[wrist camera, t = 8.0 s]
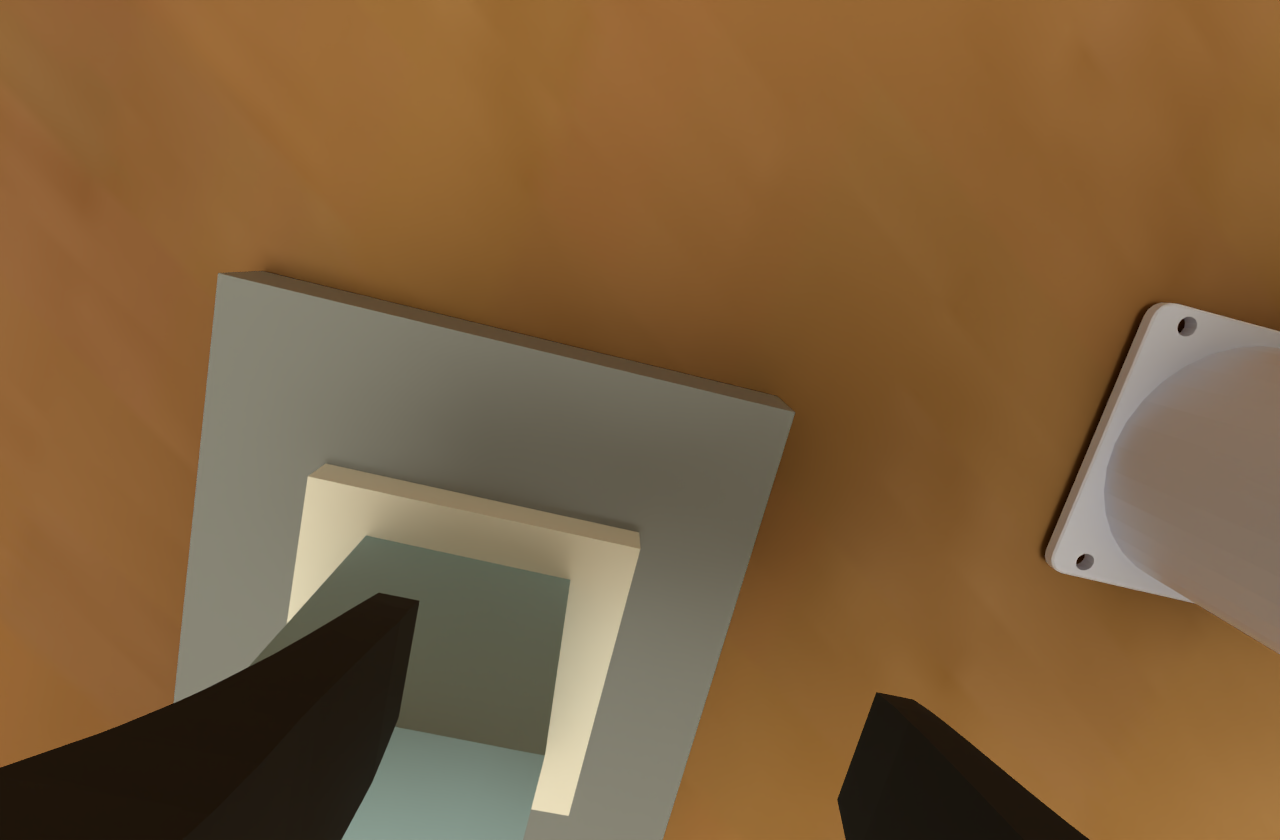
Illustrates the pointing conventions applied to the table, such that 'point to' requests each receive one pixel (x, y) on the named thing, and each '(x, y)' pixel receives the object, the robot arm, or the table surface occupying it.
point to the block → (454, 689)
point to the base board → (485, 510)
